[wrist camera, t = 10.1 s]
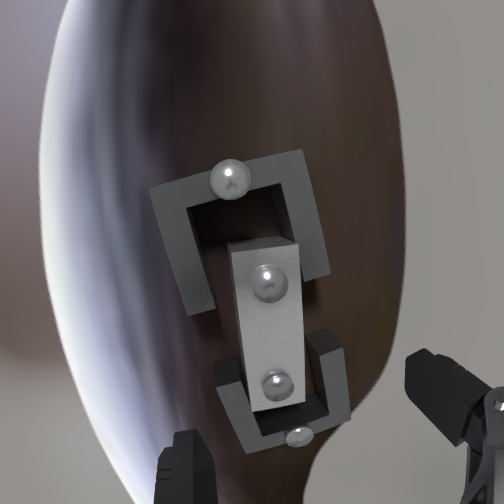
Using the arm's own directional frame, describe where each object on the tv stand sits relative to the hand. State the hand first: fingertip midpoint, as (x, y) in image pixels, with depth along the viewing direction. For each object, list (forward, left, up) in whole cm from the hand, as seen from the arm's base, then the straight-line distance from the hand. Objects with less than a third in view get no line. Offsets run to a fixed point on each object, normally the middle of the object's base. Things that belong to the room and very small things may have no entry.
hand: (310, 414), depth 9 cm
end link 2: (+6, 0, -10) cm, 12 cm away
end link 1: (-6, 0, -10) cm, 12 cm away
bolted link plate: (0, 0, -11) cm, 11 cm away
